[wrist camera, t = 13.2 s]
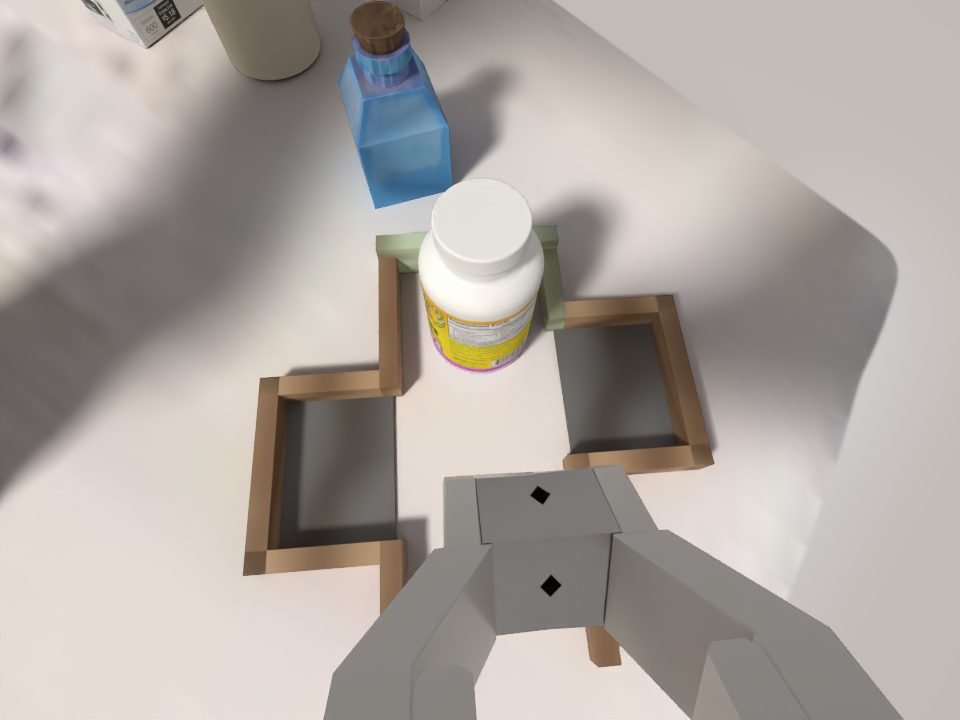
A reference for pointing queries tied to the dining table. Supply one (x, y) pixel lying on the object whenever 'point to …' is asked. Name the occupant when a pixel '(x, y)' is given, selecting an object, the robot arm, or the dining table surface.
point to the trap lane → (370, 395)
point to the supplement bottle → (480, 274)
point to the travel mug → (266, 35)
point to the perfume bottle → (393, 110)
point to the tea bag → (419, 7)
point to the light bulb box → (141, 16)
